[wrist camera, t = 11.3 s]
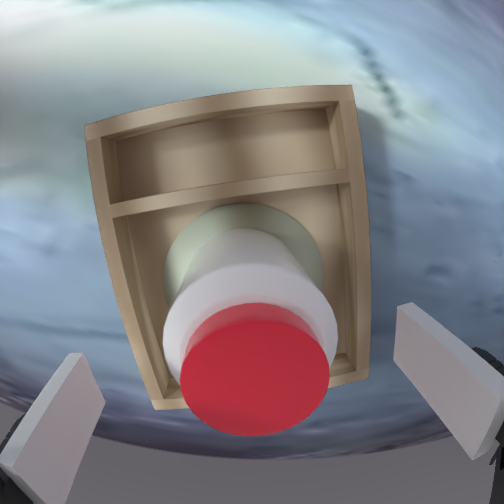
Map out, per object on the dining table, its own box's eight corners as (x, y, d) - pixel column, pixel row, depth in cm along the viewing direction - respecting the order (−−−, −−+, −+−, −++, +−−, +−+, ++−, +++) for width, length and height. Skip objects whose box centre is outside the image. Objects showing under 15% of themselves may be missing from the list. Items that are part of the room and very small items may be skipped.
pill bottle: (223, 352, 22) (220, 471, 12) (165, 263, 21) (107, 347, 10) (318, 304, 22) (380, 403, 11) (268, 206, 20) (309, 242, 9)
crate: (162, 383, 24) (154, 409, 21) (105, 131, 19) (84, 125, 16) (353, 354, 24) (368, 378, 21) (334, 97, 20) (351, 84, 16)
